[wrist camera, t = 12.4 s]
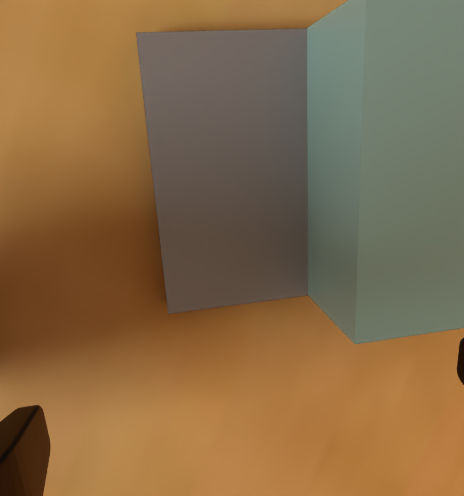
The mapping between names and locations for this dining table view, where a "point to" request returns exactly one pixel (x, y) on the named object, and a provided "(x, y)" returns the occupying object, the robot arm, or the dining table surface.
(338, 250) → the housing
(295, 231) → the plate
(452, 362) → the dining table surface
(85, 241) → the dining table surface
